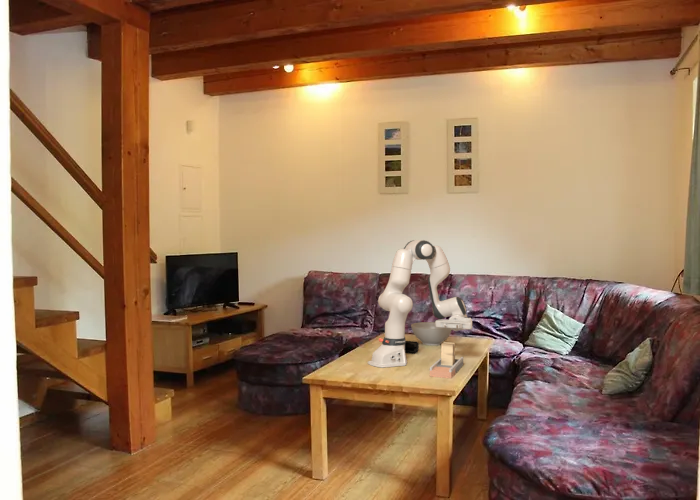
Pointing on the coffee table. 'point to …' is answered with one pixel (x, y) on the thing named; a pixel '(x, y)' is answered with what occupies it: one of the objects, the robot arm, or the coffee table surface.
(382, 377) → the coffee table surface
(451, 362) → the block
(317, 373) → the coffee table surface
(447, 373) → the lane
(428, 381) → the coffee table surface
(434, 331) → the decorative bowl
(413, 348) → the end cap
